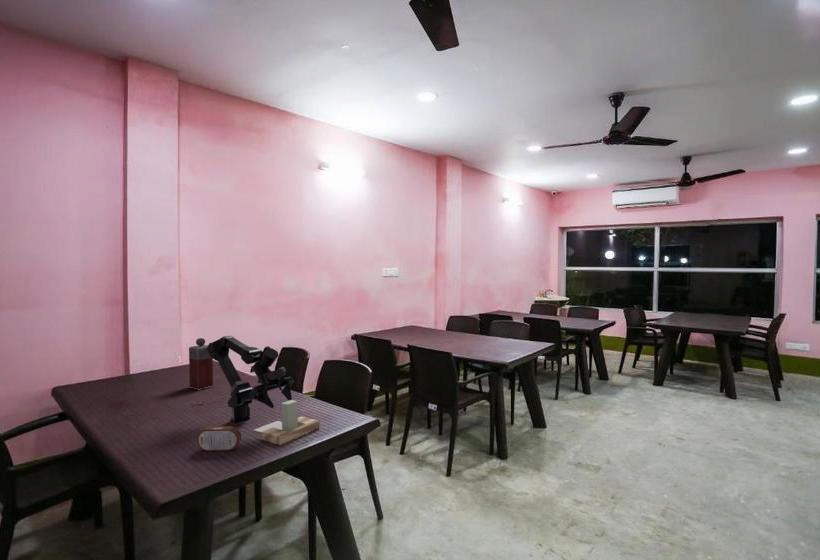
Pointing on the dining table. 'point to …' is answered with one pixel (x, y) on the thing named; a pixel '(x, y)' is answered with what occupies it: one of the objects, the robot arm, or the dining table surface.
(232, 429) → the tin
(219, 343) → the robot arm
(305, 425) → the stand
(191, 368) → the glass decanter
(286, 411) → the mint green pillar
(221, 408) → the dining table surface
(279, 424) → the mat
